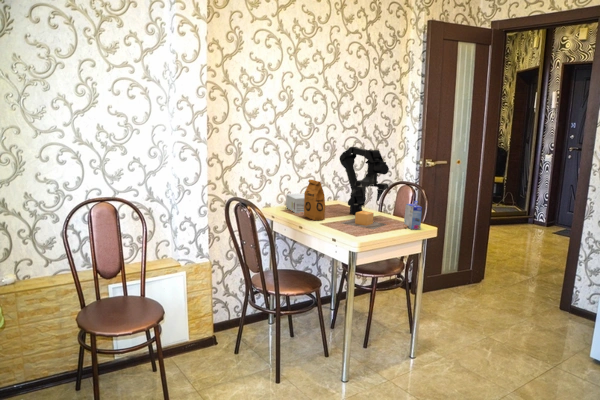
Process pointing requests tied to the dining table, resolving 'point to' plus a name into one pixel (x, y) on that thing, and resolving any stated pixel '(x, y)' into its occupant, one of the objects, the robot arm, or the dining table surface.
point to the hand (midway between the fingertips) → (370, 199)
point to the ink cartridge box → (413, 215)
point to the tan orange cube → (364, 218)
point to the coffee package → (314, 201)
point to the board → (371, 226)
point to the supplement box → (295, 202)
